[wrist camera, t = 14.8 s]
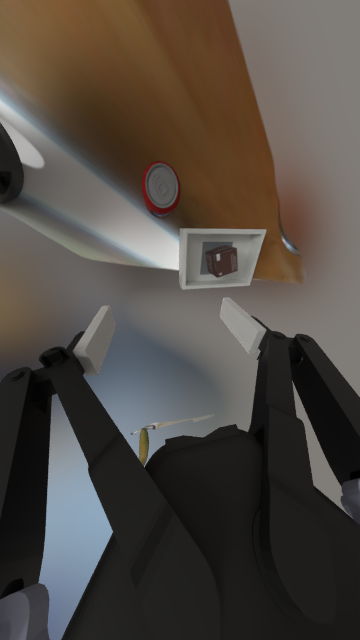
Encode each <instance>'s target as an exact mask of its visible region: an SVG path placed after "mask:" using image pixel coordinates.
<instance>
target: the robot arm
mask: <svg viewBox="0 0 360 640" xmlns="http://www.w3.org/2000/svg"><path fill="white" fill-rule="evenodd" d="M22 186H23V169H22V164H21V161H20V158H19V155H18V152H17V150H16V148H15V146H14V144H13V142H12V140H11V138H10V136H9V135H8V133H7V132H6V130H5V129H4V127H3V126H2V124H1V123H0V203H5V202H9V201H12V200H13V199H15V198H16V197H17V196H18V195H19V193H20V192H21V189H22ZM220 318H221V319H222V321H223V322H224V323H225V325H226V326H227V327H228V328H229V330H230V331H231V332H232V333H233V335H234V336H235V337H236V339H237V340H238V341H239V342H240V344H241V345H242V346H243V348H244V349H245V350H246V351H247V353H248V354H253V353H256V352H257V349H259V350H260V351H261V352H260V354H259V356H258V358H257V360H258V359H259V362H258V370H257V379H256V386H255V395H254V402H253V411H252V419H251V425H250V428H249V431H248V432H246V431H243V430H240V429H238V428H237V425H236V424H234V425H229V426H225V427H220V428H218V429H217V430H215V431H213V432H212V433H210V434H209V435H207V436H206V437H203V438H202V437H193V436H184V435H183V436H179V437H174V438H170V439H166V440H165V442H166V444H165V445H164V446H162V447H161V448H159V449H158V450H157V451H156V452H155V453H154V454H153V455H152V457H151V458H150V459H149V461H148V462H147V464H146V466H145V468H144V466H143V465H142V463H141V462H140V460H139V459H138V457H137V456H136V454H135V453H134V451H133V450H132V448H131V447H130V445H129V444H128V443H127V441H126V439H125V438H124V436H123V435H122V434H121V432H120V431H119V429H118V428H117V426H116V425H115V423H114V422H113V420H112V419H111V417H110V416H109V414H108V413H107V411H106V410H105V408H104V407H103V406H102V404H101V402H100V401H99V399H98V398H97V396H96V395H95V393H94V392H93V390H92V389H91V387H90V386H89V384H88V383H87V382H86V380H85V379H84V377H83V374H84V372H85V373H86V374H87V376H92V375H98V374H99V371H100V368H101V366H102V363H103V360H104V357H105V355H106V352H107V349H108V347H109V344H110V341H111V338H112V336H113V333H114V330H115V328H116V324H115V321H114V318H113V315H112V311H111V308H110V306H102V307H101V309H100V310H99V312H98V314H97V315H96V316H95V318H94V319H93V321H92V322H91V324H90V325H89V327H88V328H87V330H86V331H82V332H80V333H79V334H77V335H76V336H75V337H74V339H73V341H72V342H71V343H70V344H69V346H68V347H67V349H66V350H65V348H63V347H54V348H51V349H49V350H47V351H45V352H44V353H42V354H41V355H40V357H39V361H40V362H41V363H42V364H43V365H44V368H40V369H38V370H34V371H32V370H31V369H30V368H29V367H23V368H19V369H16V370H14V371H12V372H11V373H9V374H7V375H6V376H5V377H4V378H3V379H2V380H1V382H0V640H50V639H49V635H48V628H47V624H48V611H49V594H48V590H47V588H46V587H45V585H43V584H40V583H38V582H39V576H40V570H41V565H42V559H43V551H44V541H45V527H46V505H47V486H48V485H47V484H48V465H49V443H50V423H51V401H52V395H54V394H56V393H57V394H58V397H59V399H60V401H61V403H62V406H63V408H64V410H65V412H66V415H67V417H68V419H69V421H70V424H71V426H72V428H73V430H74V433H75V435H76V437H77V440H78V442H79V444H80V446H81V449H82V451H83V453H84V455H85V457H86V460H87V462H88V466H89V467H88V472H89V476H90V478H91V481H92V483H93V485H94V488H95V490H96V492H97V495H98V497H99V499H100V502H101V504H102V507H103V509H104V511H105V513H106V516H107V518H108V520H109V523H110V525H111V527H112V530H113V533H112V535H111V537H110V540H109V542H108V544H107V546H106V548H105V550H104V552H103V554H102V556H101V558H100V560H99V562H98V565H97V566H96V569H95V571H94V573H93V575H92V577H91V579H90V581H89V583H88V585H87V587H86V589H85V591H84V593H83V595H82V598H81V599H80V602H79V604H78V606H77V608H76V610H75V612H74V614H73V616H72V618H71V620H70V622H69V624H68V626H67V628H66V630H65V633H64V635H63V637H62V639H61V640H360V397H359V396H358V395H357V393H356V392H355V391H354V390H353V388H352V387H351V386H350V385H349V383H348V382H347V381H346V380H345V378H344V377H343V376H342V375H341V373H340V372H339V371H338V369H337V368H336V367H335V366H334V364H333V363H332V362H331V361H330V359H329V358H328V357H327V356H326V354H325V353H324V352H323V350H322V349H321V348H320V347H319V345H318V344H317V343H316V342H315V341H314V340H313V338H311V337H309V336H307V335H304V334H296V336H295V337H294V338H288V337H286V336H285V335H284V334H282V333H280V332H276V331H271V330H270V329H269V328H268V327H266V326H265V325H264V324H263V323H262V322H260V321H259V320H258V319H257V318H255V317H253V316H250V315H249V314H247V313H246V312H245V311H244V310H243V309H242V308H241V307H239V306H238V305H237V304H236V303H235V302H234V301H232V300H231V299H230V298H229V297H228V298H223V302H222V307H221V312H220ZM292 381H293V383H294V385H295V387H296V390H297V392H298V395H299V397H300V399H301V401H302V404H303V406H304V408H305V411H306V413H307V415H308V418H309V420H310V422H311V425H312V427H313V429H314V432H315V434H316V436H317V439H318V441H319V443H320V445H321V448H322V450H323V453H324V455H325V457H326V459H327V461H328V463H329V465H330V467H331V469H332V471H333V473H334V475H335V476H336V478H337V480H338V482H339V483H340V485H341V487H342V493H343V496H341V503H342V506H343V507H344V509H345V510H346V512H347V513H348V514H349V515H350V516H351V517H352V518H353V519H352V518H351V517H350V516H349V515H348V514H346V513H345V512H344V511H343V510H342V509H341V508H339V507H338V506H337V505H336V504H335V503H334V502H332V501H331V500H330V499H329V498H328V497H326V496H325V495H324V494H323V493H322V492H321V491H319V490H318V489H317V488H316V487H315V486H314V485H313V480H312V473H311V467H310V460H309V454H308V447H307V440H306V434H305V427H304V424H303V422H302V420H300V419H298V418H297V417H296V409H295V401H294V393H293V384H292Z"/></svg>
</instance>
